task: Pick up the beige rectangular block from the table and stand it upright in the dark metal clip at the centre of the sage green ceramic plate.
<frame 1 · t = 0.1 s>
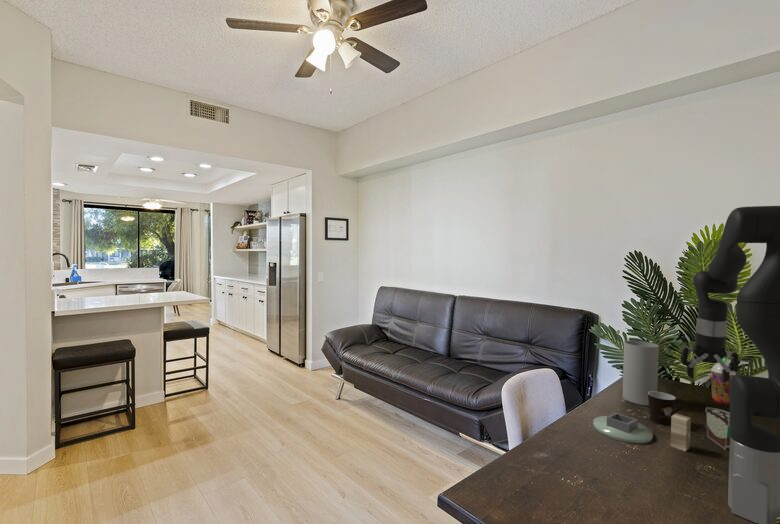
hand: (707, 379, 123), 22 cm above the table, tool pointing down, fingers open, 8 cm apart
beige rectangular block: (680, 447, 122), on the table
clip plate: (621, 430, 133), on the table
coffee mug: (665, 423, 141), on the table
cylinder vase: (639, 401, 162), on the table
food container: (726, 444, 125), on the table
smoothie: (722, 403, 162), on the table
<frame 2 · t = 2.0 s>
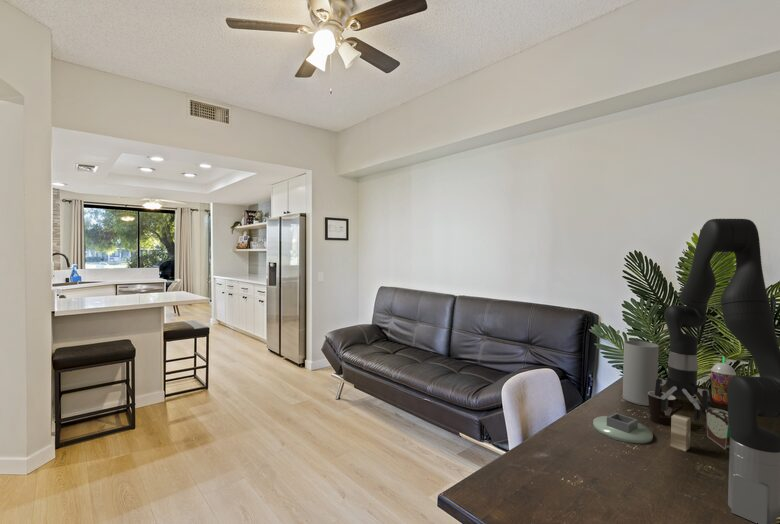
hand: (680, 415, 122), 10 cm above the table, tool pointing down, fingers open, 8 cm apart
nothing on the table moved.
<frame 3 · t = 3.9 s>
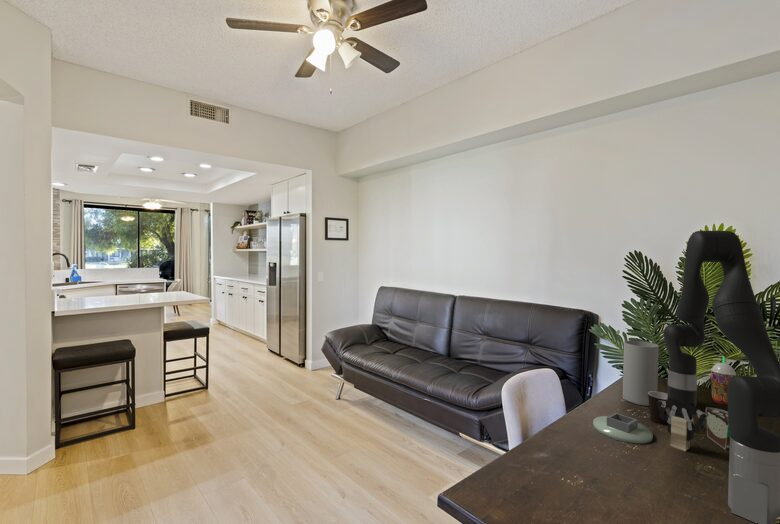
hand: (680, 437, 122), 3 cm above the table, tool pointing down, fingers closed on beige rectangular block, 4 cm apart
beige rectangular block: (680, 447, 122), on the table, touching gripper
everything else where it was.
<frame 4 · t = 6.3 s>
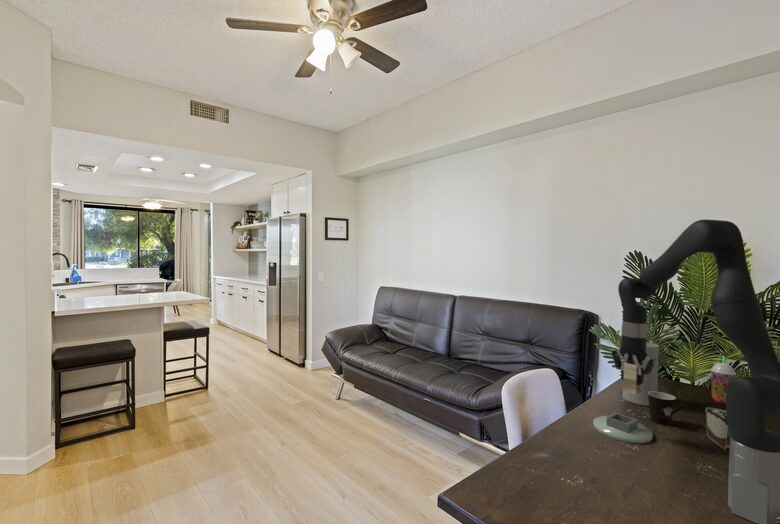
hand: (632, 382, 132), 18 cm above the table, tool pointing down, fingers closed on beige rectangular block, 4 cm apart
beige rectangular block: (631, 391, 132), point 15 cm above the table, touching gripper
everything else where it was.
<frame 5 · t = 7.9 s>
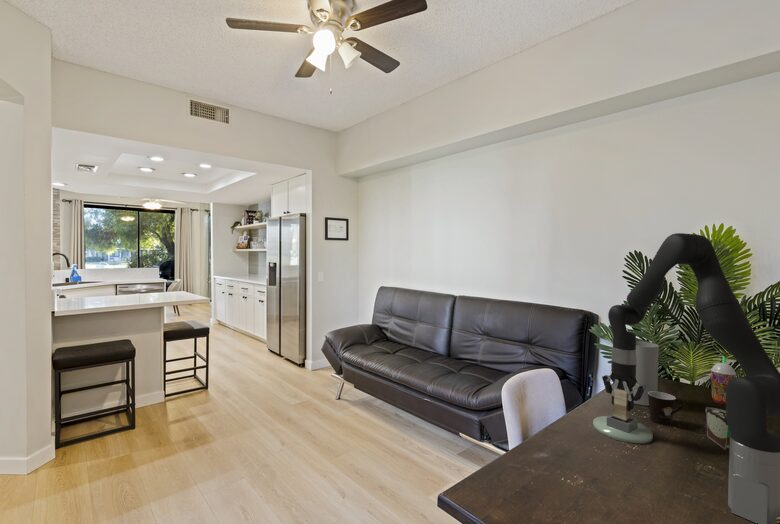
hand: (622, 408, 133), 8 cm above the table, tool pointing down, fingers closed on beige rectangular block, 4 cm apart
beige rectangular block: (622, 417, 133), point 5 cm above the table, touching gripper
everything else where it was.
when the fingers open (6 cm above the table, at t = 9.1 s): beige rectangular block stays where it is, resting on clip plate.
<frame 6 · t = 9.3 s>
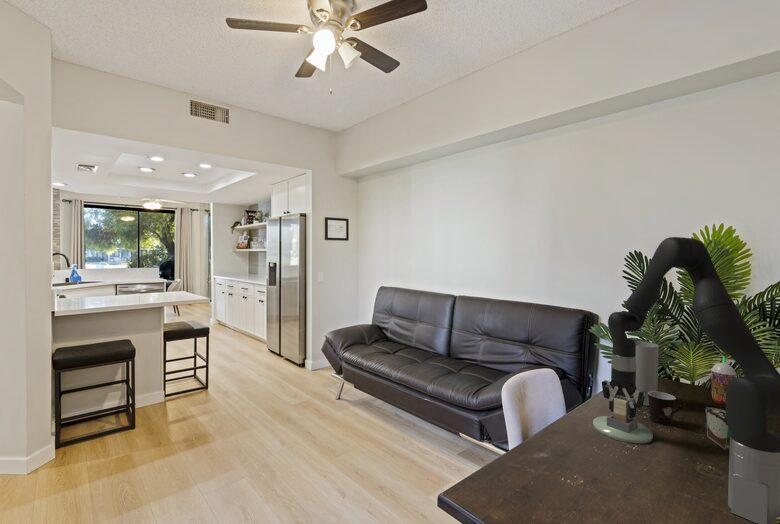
hand: (622, 414, 133), 6 cm above the table, tool pointing down, fingers open, 5 cm apart
beige rectangular block: (621, 426, 133), point 2 cm above the table, touching clip plate
everything else where it was.
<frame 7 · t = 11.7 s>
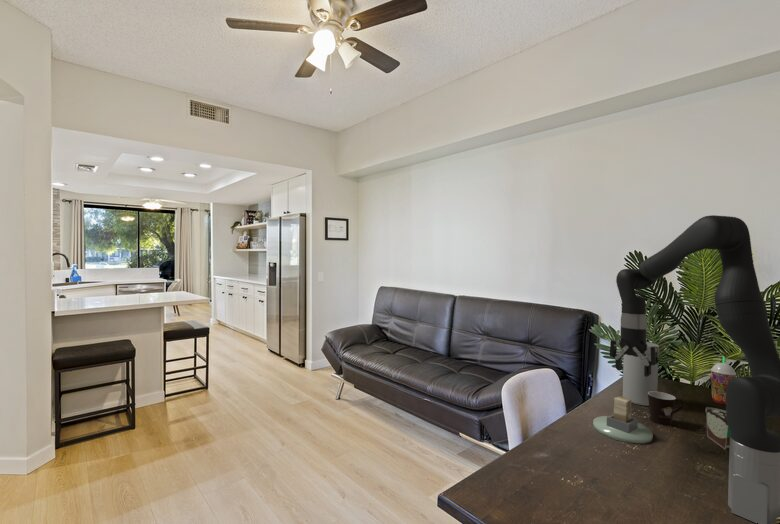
hand: (632, 373, 129), 22 cm above the table, tool pointing down, fingers open, 8 cm apart
nothing on the table moved.
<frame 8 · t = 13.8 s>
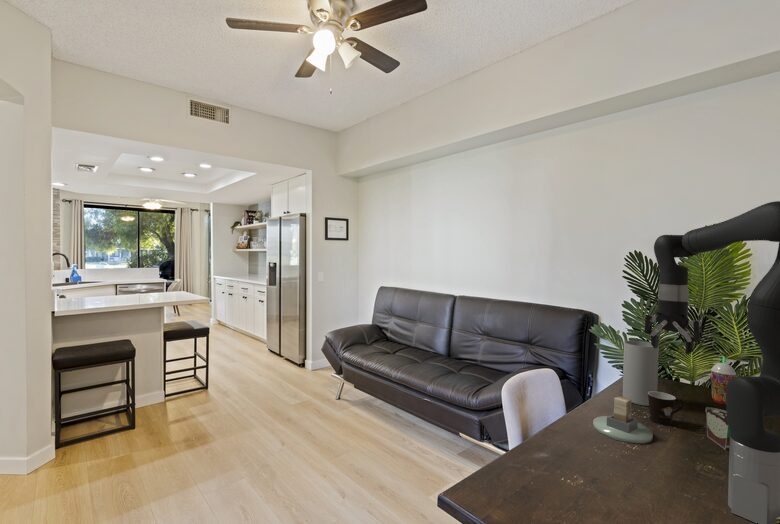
hand: (671, 350, 116), 33 cm above the table, tool pointing down, fingers open, 8 cm apart
nothing on the table moved.
at the end: beige rectangular block 0.0 cm off-centre on the clip plate, point 1.5 cm above the clip plate's base; beige rectangular block tilted 0°; the gripper is holding nothing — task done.
